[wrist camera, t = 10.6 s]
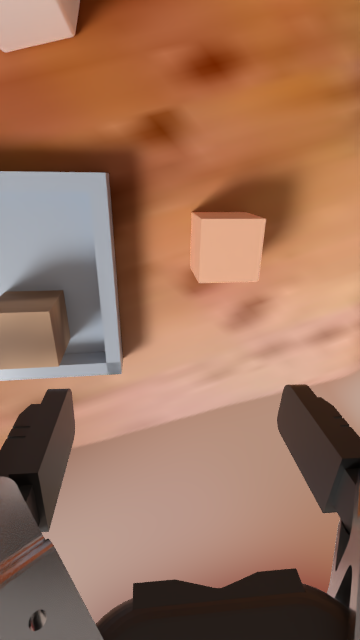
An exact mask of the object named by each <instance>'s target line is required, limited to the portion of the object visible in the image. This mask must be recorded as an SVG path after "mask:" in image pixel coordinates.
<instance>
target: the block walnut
mask: <svg viewBox="0 0 360 640" xmlns="http://www.w3.org/2000/svg"><path fill="white" fill-rule="evenodd" d="M70 339H71V337H70V331H69V324H68V317H67V311H66V304H65V297H64V291H63V290H49V291H10V292H5V293H3V294H2V295H1V296H0V370H2V369H22V368H41V367H59V365H60V363H61V360H62V358H63V355H64V353H65V351H66V348H67V346H68V344H69V341H70Z"/></svg>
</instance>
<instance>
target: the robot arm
mask: <svg viewBox="0 0 360 640" xmlns="http://www.w3.org/2000/svg"><path fill="white" fill-rule="evenodd" d="M277 423H278V429H279V432H280V434H281V436H282V438H283V440H284V442H285V443H286V445H287V447H288V449H289V451H290V453H291V455H292V456H293V458H294V460H295V462H296V464H297V466H298V467H299V469H300V471H301V473H302V475H303V477H304V478H305V481H306V482H307V484H308V486H309V488H310V490H311V491H312V493H313V495H314V497H315V499H316V501H317V503H318V505H319V506H320V508H321V510H322V512H323V513H332V512H337V513H338V515H339V516H340V518H341V519H340V522H339V525H338V530H337V537H336V544H335V552H334V559H333V566H332V574H331V580H330V584H329V589H328V592H327V593H325V592H323V591H321V590H319V589H317V588H314V587H311V586H309V585H306V584H302V583H301V580H300V578H299V575H298V572H297V570H296V569H284V570H274V571H263V572H257V573H254V574H252V575H250V576H248V577H245V578H243V579H241V580H239V581H237V582H234V583H232V584H230V585H228V586H226V587H223V588H212V587H207V586H203V585H198V584H193V583H189V582H184V581H179V580H166V581H155V582H144V583H134V584H133V598H132V599H130V600H128V601H125V602H123V603H122V604H120V605H118V606H117V607H115V608H114V609H112V610H111V611H110V612H109V613H107V614H106V615H105V616H103V618H101V619H100V620H99V622H97V623H96V624H95V622H94V621H93V619H92V617H91V615H90V613H89V611H88V609H87V607H86V605H85V604H84V602H83V600H82V598H81V596H80V594H79V592H78V591H77V589H76V587H75V585H74V583H73V581H72V579H71V577H70V575H69V574H68V572H67V570H66V568H65V566H64V564H63V562H62V560H61V558H60V557H59V555H58V553H57V551H56V549H55V547H54V545H53V544H52V542H51V541H50V540H49V539H46V540H45V538H44V537H43V535H42V533H41V532H48V531H49V528H50V525H51V521H52V518H53V514H54V510H55V506H56V503H57V499H58V495H59V491H60V488H61V484H62V481H63V477H64V473H65V469H66V466H67V462H68V459H69V455H70V451H71V448H72V444H73V440H74V434H75V419H74V410H73V401H72V392H71V389H48V390H47V392H46V394H45V396H44V398H43V400H42V402H41V404H31V405H30V406H29V407H27V408H26V409H25V410H24V411H23V412H22V413H21V414H20V415H19V416H18V418H17V420H16V422H15V424H14V426H13V429H11V431H10V433H9V435H8V439H6V441H5V443H4V444H3V446H2V448H1V450H0V640H360V437H359V436H358V435H357V434H356V432H355V431H354V430H353V429H352V428H351V427H349V424H348V423H347V422H346V421H345V420H344V418H342V416H341V415H340V414H339V412H338V411H337V410H336V409H335V407H334V406H332V405H331V404H330V403H328V402H327V401H325V400H324V399H322V398H321V397H317V396H316V395H315V394H314V393H313V391H312V390H311V389H310V388H309V386H307V385H286V386H285V387H284V390H283V394H282V399H281V403H280V408H279V412H278V417H277Z"/></svg>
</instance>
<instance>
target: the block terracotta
mask: <svg viewBox="0 0 360 640" xmlns="http://www.w3.org/2000/svg"><path fill="white" fill-rule="evenodd" d="M265 224H266V219H265V218H262V217H259V216H256V215H253V214H251V213H248V212H192V216H191V254H190V268H191V270H192V272H193V273H194V275H195V277H196V279H197V281H198V282H199V283H227V282H258V281H259V273H260V265H261V257H262V248H263V240H264V232H265Z"/></svg>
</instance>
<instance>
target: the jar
mask: <svg viewBox="0 0 360 640" xmlns="http://www.w3.org/2000/svg"><path fill="white" fill-rule="evenodd" d="M79 5H80V0H0V49H1V50H2V51H3V52H11V51H15V50H19V49H23V48H28V47H32V46H36V45H41V44H45V43H49V42H54V41H58V40H62V39H66V38H71V37H73V36H74V35H75V33H76V26H77V19H78V12H79Z"/></svg>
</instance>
